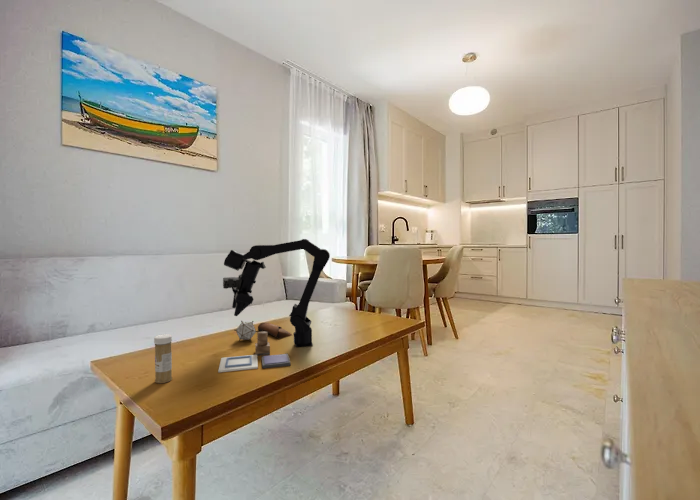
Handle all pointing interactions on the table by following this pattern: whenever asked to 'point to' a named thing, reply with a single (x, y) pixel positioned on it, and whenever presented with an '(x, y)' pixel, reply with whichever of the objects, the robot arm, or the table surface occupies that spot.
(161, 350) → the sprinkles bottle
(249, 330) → the game die
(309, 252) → the robot arm
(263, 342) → the stamp
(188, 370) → the table surface
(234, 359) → the print card
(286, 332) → the sunglasses case
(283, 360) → the ink pad
